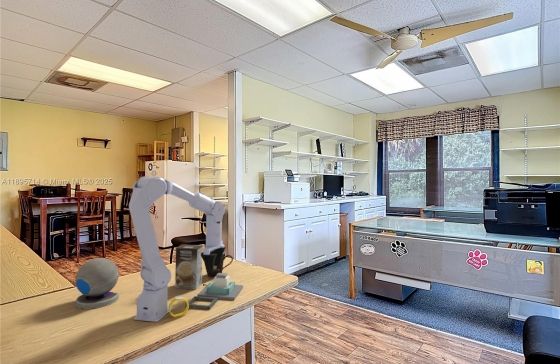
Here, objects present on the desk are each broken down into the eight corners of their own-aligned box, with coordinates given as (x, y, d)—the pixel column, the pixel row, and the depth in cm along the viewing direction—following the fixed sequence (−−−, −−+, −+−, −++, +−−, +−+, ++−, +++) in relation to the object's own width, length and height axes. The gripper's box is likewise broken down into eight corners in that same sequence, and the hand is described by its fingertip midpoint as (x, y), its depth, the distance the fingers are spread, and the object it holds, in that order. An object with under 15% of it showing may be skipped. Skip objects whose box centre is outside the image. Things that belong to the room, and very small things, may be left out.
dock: (234, 300, 106) (234, 291, 106) (197, 297, 108) (197, 289, 108) (243, 287, 118) (243, 280, 118) (209, 285, 120) (209, 278, 120)
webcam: (126, 296, 108) (126, 255, 108) (96, 311, 96) (96, 265, 96) (98, 292, 112) (98, 252, 111) (65, 306, 99) (65, 262, 99)
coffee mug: (200, 277, 130) (201, 254, 129) (211, 271, 138) (211, 249, 138) (224, 280, 126) (225, 256, 126) (233, 273, 134) (233, 252, 134)
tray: (210, 309, 98) (210, 306, 98) (185, 307, 100) (185, 304, 100) (217, 300, 105) (217, 297, 105) (194, 298, 107) (194, 296, 107)
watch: (186, 312, 97) (188, 294, 97) (188, 316, 94) (190, 297, 95) (167, 315, 94) (169, 296, 94) (169, 319, 91) (170, 299, 92)
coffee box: (174, 288, 116) (174, 247, 116) (181, 282, 123) (181, 244, 122) (196, 289, 115) (197, 248, 115) (202, 283, 122) (202, 244, 122)
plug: (226, 291, 111) (226, 276, 111) (213, 291, 112) (214, 275, 111) (229, 288, 114) (229, 273, 114) (217, 287, 115) (217, 272, 115)
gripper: (217, 237, 103) (216, 276, 103) (230, 230, 117) (229, 264, 118) (198, 236, 104) (197, 274, 104) (213, 229, 118) (212, 262, 119)
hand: (213, 269), depth 111 cm, fingers open, 7 cm apart
